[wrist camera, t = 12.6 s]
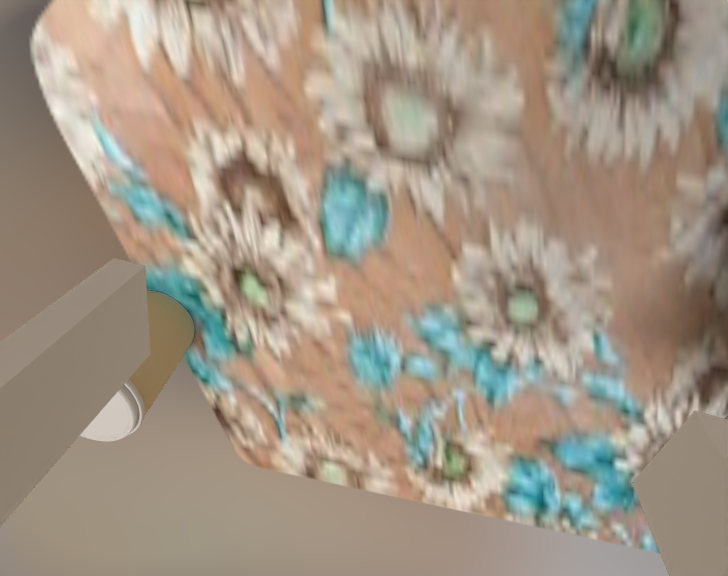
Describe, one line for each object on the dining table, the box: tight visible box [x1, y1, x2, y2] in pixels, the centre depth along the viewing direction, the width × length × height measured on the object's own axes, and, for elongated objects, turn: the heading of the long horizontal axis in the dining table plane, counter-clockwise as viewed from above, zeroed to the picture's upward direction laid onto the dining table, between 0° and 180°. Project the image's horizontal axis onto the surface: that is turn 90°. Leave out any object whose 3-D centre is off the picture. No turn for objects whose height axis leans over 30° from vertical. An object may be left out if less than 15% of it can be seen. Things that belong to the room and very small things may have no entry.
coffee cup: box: [80, 290, 195, 441], centre depth 42 cm, size 9×9×12 cm
